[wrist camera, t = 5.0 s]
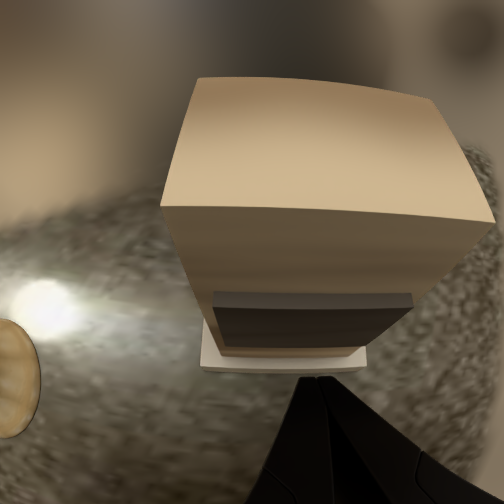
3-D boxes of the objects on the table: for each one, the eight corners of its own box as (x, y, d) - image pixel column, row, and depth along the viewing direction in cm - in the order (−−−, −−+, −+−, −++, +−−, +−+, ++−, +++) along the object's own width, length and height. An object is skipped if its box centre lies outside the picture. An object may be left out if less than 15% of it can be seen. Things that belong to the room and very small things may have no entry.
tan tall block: (348, 364, 14) (502, 241, 4) (220, 364, 14) (154, 228, 5) (342, 281, 16) (431, 99, 7) (226, 278, 16) (198, 78, 7)
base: (357, 371, 15) (412, 339, 10) (204, 370, 15) (176, 339, 10) (341, 216, 20) (367, 141, 15) (218, 212, 20) (208, 133, 15)
